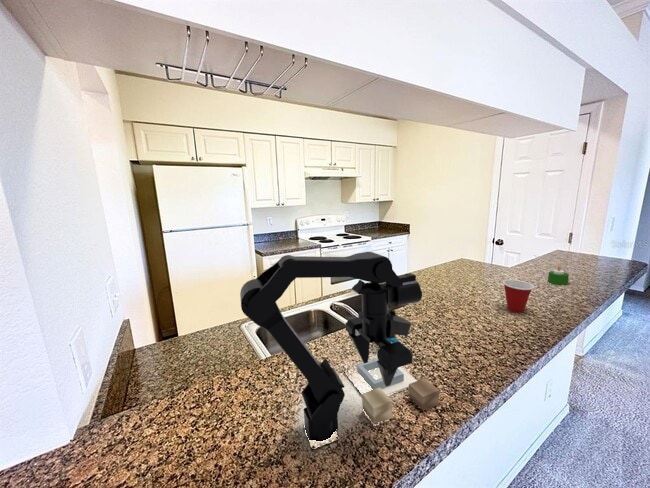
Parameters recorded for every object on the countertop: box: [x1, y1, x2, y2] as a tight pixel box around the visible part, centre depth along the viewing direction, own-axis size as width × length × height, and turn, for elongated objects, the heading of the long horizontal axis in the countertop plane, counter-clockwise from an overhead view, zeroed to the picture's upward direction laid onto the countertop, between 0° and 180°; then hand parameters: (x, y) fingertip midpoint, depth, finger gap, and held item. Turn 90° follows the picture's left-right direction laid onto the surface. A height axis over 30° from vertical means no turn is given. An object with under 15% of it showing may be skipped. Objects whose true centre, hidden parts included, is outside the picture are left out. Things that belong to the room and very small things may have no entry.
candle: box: [547, 264, 570, 286], centre depth 146 cm, size 8×8×10 cm
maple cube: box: [361, 388, 393, 424], centre depth 64 cm, size 5×5×5 cm
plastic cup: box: [502, 279, 535, 313], centre depth 116 cm, size 11×11×12 cm
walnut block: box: [408, 378, 440, 411], centre depth 68 cm, size 5×5×4 cm
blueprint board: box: [356, 357, 418, 395], centre depth 77 cm, size 16×14×3 cm
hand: (375, 373), depth 63 cm, fingers open, 9 cm apart
